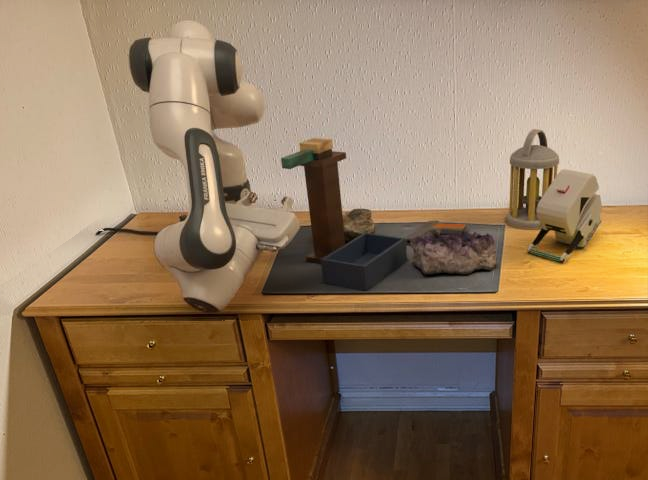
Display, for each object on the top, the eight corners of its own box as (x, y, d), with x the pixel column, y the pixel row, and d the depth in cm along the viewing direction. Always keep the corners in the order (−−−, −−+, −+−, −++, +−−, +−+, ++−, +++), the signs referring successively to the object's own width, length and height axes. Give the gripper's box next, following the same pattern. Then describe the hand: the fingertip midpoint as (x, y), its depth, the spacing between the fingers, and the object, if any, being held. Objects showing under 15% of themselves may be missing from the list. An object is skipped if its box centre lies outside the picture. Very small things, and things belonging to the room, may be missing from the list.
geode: (490, 255, 164) (494, 219, 157) (499, 279, 154) (503, 241, 148) (409, 258, 161) (409, 220, 155) (413, 282, 152) (414, 243, 146)
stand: (306, 261, 163) (293, 159, 151) (328, 247, 171) (317, 149, 159) (333, 265, 160) (322, 162, 148) (354, 252, 168) (345, 152, 156)
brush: (295, 169, 142) (293, 153, 140) (276, 167, 144) (274, 151, 142) (333, 154, 154) (332, 139, 152) (315, 152, 156) (314, 137, 154)
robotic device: (538, 274, 171) (514, 225, 156) (578, 212, 176) (559, 158, 161) (572, 285, 165) (551, 234, 150) (613, 220, 170) (596, 165, 154)
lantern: (521, 210, 194) (525, 122, 182) (565, 218, 187) (572, 127, 175) (496, 223, 185) (499, 131, 172) (541, 232, 177) (547, 137, 165)
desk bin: (323, 282, 151) (320, 259, 148) (366, 254, 167) (365, 232, 164) (366, 290, 147) (364, 266, 144) (407, 260, 162) (406, 238, 159)
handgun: (447, 249, 168) (405, 244, 172) (468, 230, 180) (428, 225, 185) (447, 243, 167) (404, 238, 171) (468, 223, 180) (427, 219, 184)
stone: (371, 236, 168) (345, 205, 167) (345, 260, 173) (320, 230, 171) (389, 224, 180) (365, 195, 178) (365, 247, 184) (341, 219, 183)
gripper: (273, 242, 128) (305, 190, 134) (194, 229, 136) (227, 181, 142) (287, 262, 134) (317, 212, 139) (210, 248, 141) (241, 201, 147)
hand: (271, 196), depth 141 cm, fingers open, 8 cm apart
